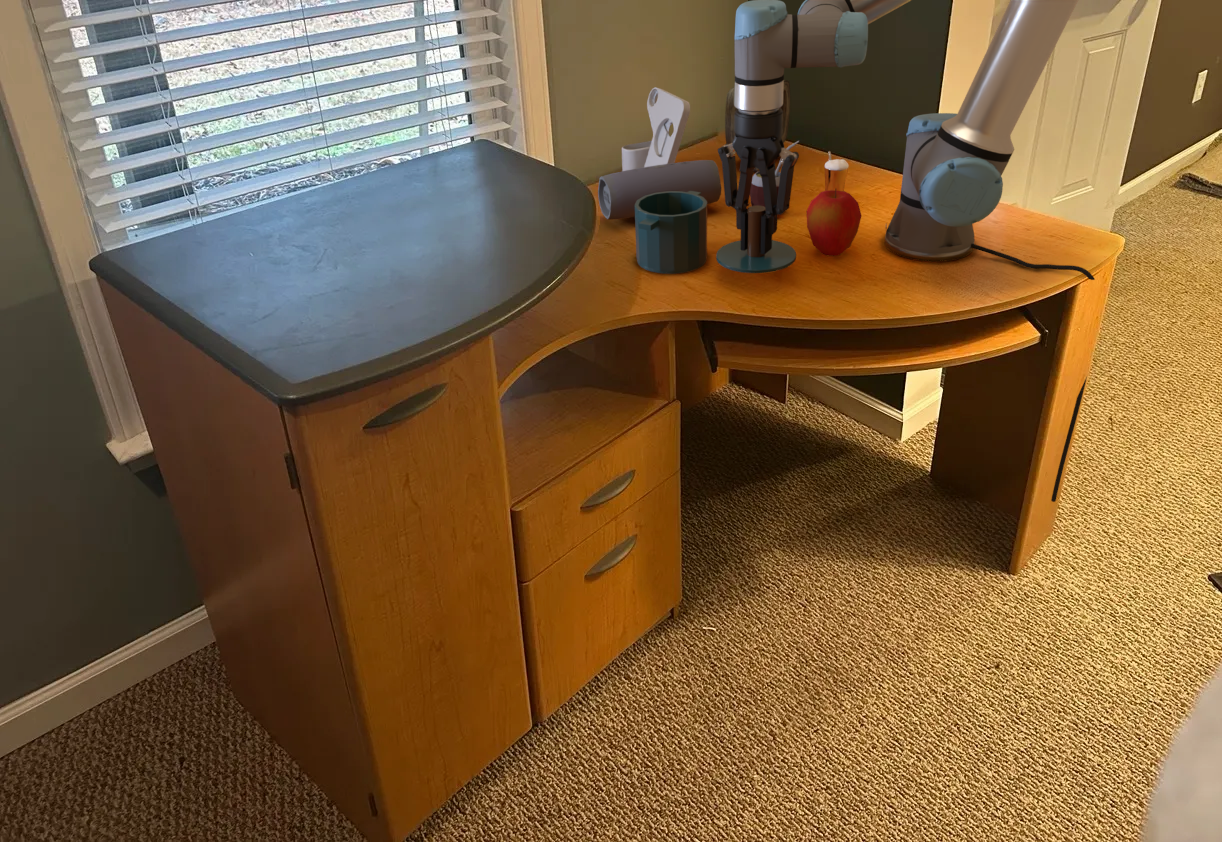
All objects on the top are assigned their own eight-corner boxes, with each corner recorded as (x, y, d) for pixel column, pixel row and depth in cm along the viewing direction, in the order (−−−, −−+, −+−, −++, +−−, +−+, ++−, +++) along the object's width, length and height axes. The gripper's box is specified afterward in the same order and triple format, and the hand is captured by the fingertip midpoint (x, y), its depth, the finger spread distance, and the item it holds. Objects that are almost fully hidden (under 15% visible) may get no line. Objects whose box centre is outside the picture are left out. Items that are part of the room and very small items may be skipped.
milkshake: (835, 198, 198) (839, 149, 193) (849, 207, 194) (853, 157, 188) (815, 202, 197) (818, 152, 192) (828, 210, 193) (832, 160, 187)
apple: (793, 252, 176) (797, 187, 170) (829, 239, 180) (834, 175, 174) (832, 268, 170) (837, 201, 163) (868, 254, 174) (874, 188, 168)
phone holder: (618, 174, 217) (614, 90, 208) (659, 166, 220) (658, 84, 211) (651, 197, 204) (649, 109, 194) (694, 189, 207) (695, 102, 197)
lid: (808, 252, 168) (811, 200, 163) (775, 282, 159) (777, 228, 154) (738, 240, 175) (738, 190, 170) (702, 268, 165) (701, 216, 161)
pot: (725, 248, 179) (726, 192, 174) (677, 284, 167) (676, 226, 161) (666, 236, 185) (665, 182, 180) (615, 271, 173) (613, 214, 167)
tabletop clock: (759, 176, 212) (763, 55, 199) (722, 170, 216) (723, 51, 203) (787, 156, 222) (793, 40, 209) (751, 151, 226) (754, 37, 213)
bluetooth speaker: (704, 199, 201) (704, 151, 196) (722, 214, 194) (722, 164, 188) (598, 216, 196) (595, 167, 191) (612, 232, 188) (610, 181, 183)
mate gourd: (743, 210, 195) (745, 134, 187) (780, 205, 197) (784, 130, 189) (757, 223, 189) (760, 145, 181) (795, 217, 190) (800, 140, 182)
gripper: (816, 106, 152) (809, 249, 164) (723, 97, 160) (723, 234, 172) (796, 119, 147) (791, 265, 159) (701, 109, 155) (703, 249, 167)
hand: (756, 249), depth 166 cm, fingers closed on lid, 3 cm apart
